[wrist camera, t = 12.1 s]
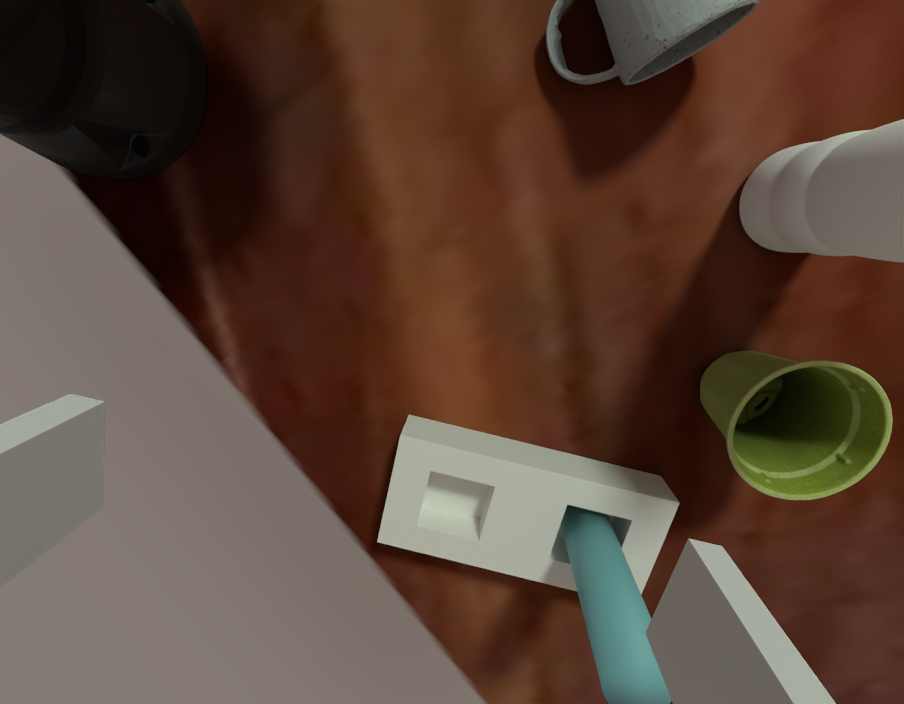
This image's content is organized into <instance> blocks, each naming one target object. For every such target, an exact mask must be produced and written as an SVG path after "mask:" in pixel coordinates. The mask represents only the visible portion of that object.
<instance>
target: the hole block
mask: <svg viewBox="0 0 904 704" xmlns="http://www.w3.org/2000/svg"><path fill="white" fill-rule="evenodd" d="M567 504H568V505H572V506H576V507H580V508H584V509H588V510H592V511H596V512H600V513H604V514H607V515H608V517H609V520H610V522H611V524H612V527H613V529H614V532H615V534H616V536H617V539H618V541H619V543H620V546H621V548H622V551H623V553H624V555H625V558H626V560H627V562H628V565H629V567H630V570H631V572H632V574H633V577H634V579H635V582H636V584H637V586H638V589H639V591H640V593H641V594H642V592H643V589H644V587H645V584H646V582H647V580H648V577H649V575H650V573H651V570H652V568H653V565H654V563H655V561H656V558H657V556H658V554H659V551H660V549H661V547H662V544H663V542H664V539H665V537H666V535H667V532H668V530H669V528H670V525H671V523H672V520H673V518H674V516H675V513H676V511H677V509H678V506H679V504H680V503H679V501H678V500H677V498H676V497H675V496H674V494H673V493H672V491H671V490H670V488H669V487H668V485H667V484H666V483H665V481H664V480H663V478H662V477H661V476H659V475H655V474H651V473H647V472H642V471H638V470H634V469H630V468H626V467H622V466H618V465H614V464H610V463H606V462H601V461H597V460H593V459H589V458H585V457H581V456H577V455H573V454H569V453H565V452H561V451H556V450H552V449H548V448H544V447H540V446H536V445H532V444H528V443H524V442H520V441H515V440H511V439H507V438H503V437H499V436H495V435H491V434H487V433H483V432H479V431H475V430H470V429H466V428H462V427H458V426H454V425H450V424H446V423H442V422H438V421H434V420H430V419H425V418H421V417H417V416H413V415H408V418H407V420H406V423H405V425H404V427H403V430H402V432H401V435H400V439H399V444H398V448H397V453H396V457H395V462H394V466H393V471H392V476H391V480H390V485H389V489H388V494H387V498H386V503H385V508H384V512H383V517H382V521H381V526H380V530H379V535H378V540H377V542H379V543H383V544H387V545H391V546H395V547H399V548H403V549H407V550H411V551H415V552H419V553H423V554H427V555H431V556H435V557H439V558H444V559H448V560H452V561H456V562H460V563H464V564H468V565H472V566H476V567H480V568H484V569H488V570H492V571H496V572H500V573H504V574H508V575H512V576H516V577H520V578H524V579H529V580H533V581H537V582H541V583H545V584H549V585H553V586H557V587H561V588H565V589H569V590H573V591H577V587H576V584H575V580H574V576H573V572H572V568H571V564H570V560H569V556H568V552H567V548H566V544H565V540H564V536H563V532H562V528H561V522H562V519H563V516H564V513H565V510H566V507H567ZM577 592H578V591H577Z"/></svg>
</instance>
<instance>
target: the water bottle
mask: <svg viewBox="0 0 904 704" xmlns="http://www.w3.org/2000/svg"><path fill="white" fill-rule="evenodd" d="M739 213H740V219H741V223H742V225H743V228H744V229H745V231H746V233H747V234H748V236H749V237H750V238H751V239H752V240H753V241H754V242H756V243H757V244H759V245H760V246H762V247H764V248H767V249H770V250H774V251H779V252H790V253H806V252H808V253H813V254H818V255H826V256H850V255H855V256H860V257H865V258H872V259H878V260H886V261H894V262H903V263H904V119H903V120H900V121H896V122H893V123H890V124H887V125H884V126H881V127H878V128H875V129H873V130H864V131H856V132H850V133H846V134H841V135H838V136H834V137H831V138H828V139H826V140H823V141H819V142H811V143H806V144H801V145H797V146H793V147H789V148H786V149H783V150H781V151H779V152H777V153H775V154H773V155H771V156H770V157H768V158H767V159H765V160H764V161H763V162H762V163H761V164H760V165H759V166H758V167H757V168H756V169H755V170H754V171H753V172H752V174H751V175H750V176H749V178H748V180H747V181H746V183H745V185H744V188H743V190H742V193H741V197H740V203H739Z"/></svg>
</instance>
